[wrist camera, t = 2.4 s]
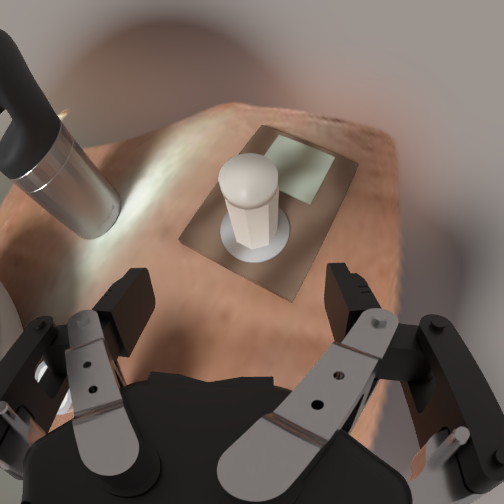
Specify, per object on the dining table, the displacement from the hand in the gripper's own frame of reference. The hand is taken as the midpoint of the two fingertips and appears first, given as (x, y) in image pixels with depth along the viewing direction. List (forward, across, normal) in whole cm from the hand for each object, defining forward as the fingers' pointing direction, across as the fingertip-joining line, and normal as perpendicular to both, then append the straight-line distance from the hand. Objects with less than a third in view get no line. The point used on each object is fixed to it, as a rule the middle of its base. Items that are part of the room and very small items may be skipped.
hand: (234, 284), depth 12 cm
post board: (+27, -3, +3) cm, 27 cm away
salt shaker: (+22, 0, +5) cm, 23 cm away
